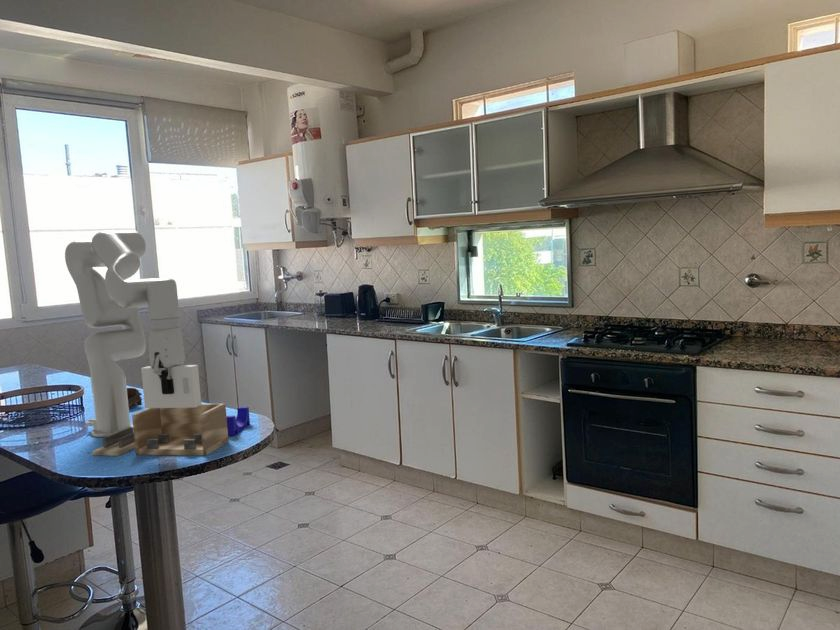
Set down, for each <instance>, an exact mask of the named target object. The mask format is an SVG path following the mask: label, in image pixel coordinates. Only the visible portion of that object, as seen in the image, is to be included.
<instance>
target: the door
mask: <svg viewBox="0 0 840 630" xmlns="http://www.w3.org/2000/svg"><path fill="white" fill-rule="evenodd" d="M163 368H164V366H163ZM140 370H141V380H142V391H143V401H144V402H143V403H144V409H148V408H196V407H198V406H200V405H201V404H202V397H201V386H200V385H201V384H200V378H199V377H200V375H199V374H200V373H199V365H198V364H184V365H176V366H173V367H171V379H173V387H174V393H173V394H162V387H161V380H160V379H159V376H158V375H157V374H155V373H154V372H153V369H152V368H151V367H150V366H149V365H148V366H144V367H140ZM163 371H165V372H166V370H163Z"/></svg>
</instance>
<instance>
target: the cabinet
mask: <svg viewBox="0 0 840 630" xmlns="http://www.w3.org/2000/svg"><path fill="white" fill-rule="evenodd" d="M226 416H227V409H226V403H201V405H200V406H198V407H196V408H144V409H143V410H140V411H139V412H136V413H133V414H132V415H131V419H132V420H131V421H132V423H133V432H134V440H135V448H134V449H135V455H140V456H141V455H147V456H148V455H149V456H150V455H151V456H155V455H156V456H158V455H159V456H160V455H161V456H163V455H166V456H170V455H171V456H176V455H177V456H207V455H210V454H211V453H212V452H214V451H216V450H217V449H219V448H220V447H222V446H224V445H225V444H227V443H228V442H229V436H228V429H227V418H226Z"/></svg>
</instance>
